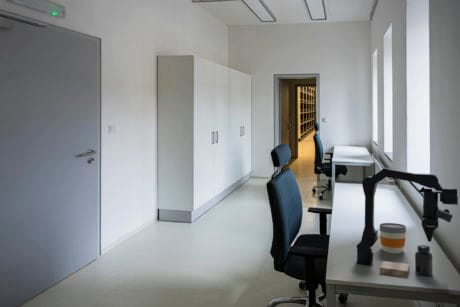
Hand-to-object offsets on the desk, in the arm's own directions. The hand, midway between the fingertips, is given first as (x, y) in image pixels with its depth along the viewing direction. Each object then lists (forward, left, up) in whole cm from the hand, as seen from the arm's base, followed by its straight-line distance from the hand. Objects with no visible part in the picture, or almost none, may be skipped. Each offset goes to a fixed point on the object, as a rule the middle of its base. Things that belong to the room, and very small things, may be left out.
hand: (429, 239), depth 177 cm
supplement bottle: (-2, -3, -15) cm, 15 cm away
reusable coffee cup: (-17, +24, -15) cm, 33 cm away
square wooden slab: (-14, -4, -15) cm, 21 cm away
